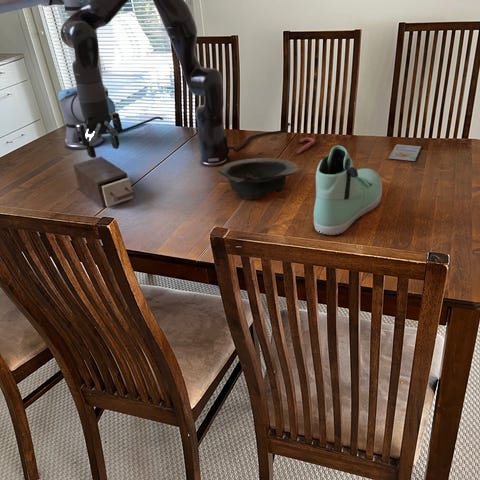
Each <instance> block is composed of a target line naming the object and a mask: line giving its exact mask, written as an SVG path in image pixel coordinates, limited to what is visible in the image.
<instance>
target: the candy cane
mask: <svg viewBox="0 0 480 480" xmlns="http://www.w3.org/2000/svg"><path fill="white" fill-rule="evenodd" d="M304 142H308V143H306V144H305V145H303V146H302V147H300V148H298V149H296V152H295V153H296V154H297V155H299V154H301V153H303V152H304V151H305V150H307V149H308V148H310V147H312V145H314V144H315V143H316V139H315V138H313V137H310V136H309V137H308V136H307V137H302V138H300V140H299V143H300V144H302V143H304Z"/></svg>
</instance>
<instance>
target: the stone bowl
mask: <svg viewBox="0 0 480 480" xmlns="http://www.w3.org/2000/svg"><path fill="white" fill-rule="evenodd" d="M298 170H299V169H298V167H297V166H296V164H295V163H293V162H291V161H289V160H287V159H281V158H272V157H271V158H269V157H255V158H243V159H239V160H235V161H232V162H231V161H230V162H228V163H224V164H222V166H221V168H220V169H219V170H217V173H219V174H220V175H221V176H223V177H224V178H226V179H227V180H228V182H229V186H230V188H231V190H232V191H234V192H235V193H236V196H237V198H239V199H241V200H243V199H245V200H251V201H252V200H255V199H257V200H262V199H264V198H266V197H267V196H268V193H269V194H273V193H281V192H282V191H284V190H285V189H284V188H285V185H286V183H287V182H286V181H287V177H289V176H290V175H292V174H294V173H296V172H297V171H298Z"/></svg>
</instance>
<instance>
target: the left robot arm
mask: <svg viewBox="0 0 480 480" xmlns="http://www.w3.org/2000/svg"><path fill="white" fill-rule="evenodd" d="M88 1H89V0H0V15H2V14H5V13H11V12H15V11H18V10H19V11H20V10H23V9H27V8H32V7H36V6H42V7H50V6H64V12H65V13H66V14H67V15H68V17H70V16H71V15H73V14H74V13H75V12H76V11H78V10H79V9H80V8H82V7H83V6H85V5H86V4H87V2H88ZM97 30H98V29H97ZM97 30H96V31H95V32H96V34H97V35H98V31H97ZM98 51H99V52H100V47H99V45H98ZM98 65H99V69H100V73H101V78H102V82H103V83H104V81H103V74H102V64H101V56H100V54H99V59H98ZM104 88H105V93H106V97H107V102H108V107H109V114H110V113H111V112H116V104H115V102H114V101H113V99H111V98H110V97H109V90H108V87H106V86H105V85H104ZM58 102H59V105H60V108H61V113H62V116H63V119H64V123H65V126H66V133H65V139H64V140H65V144H66V148H68V149H70V150H85V149H86V150H87V148H86V146H83V145H80V144H79V143H78V138H77V133H76V128H75V125H76V124H83V123H84V121H85V119H84V117H83V115H82V111H81V106H80V102H79V98H78V94H77V87H76V86H75V87H69V88H66V89H63V90H60V91H59V92H58ZM154 120H155V121H156V120H160V121H164V120H165V119H164V118H163V117H161V116H153V117H152V118H149V119H147V120H143V121H141V122H139V123H136V124H134V125H131V126H129V127H125V128H122V129H123V131H122V132H121V133H123V132H126V131H128V130H132V129H135V128H138V127H140V126H142V125H144V124H148V123H150V122H152V121H154ZM110 123H112V120H111V121H110ZM86 132H87V128H86V131H85V134H86ZM92 134H93V133H91V135H92ZM104 135H111V134H110V133H108V132H105V133H101V134H99V135H97V137H96V139H95V140H94V143H93V145H94V147H97V146H99V145H102V143H104Z"/></svg>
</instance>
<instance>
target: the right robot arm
mask: <svg viewBox="0 0 480 480" xmlns="http://www.w3.org/2000/svg"><path fill="white" fill-rule="evenodd" d="M129 1H130V0H89V1H88V2H87V4H86V5H85V6H83V7H82V8H80V9H79V10H78V11H76V12H75V13H74V14H73V15H71V16H68V18H66V20H65V21H64V23H63V24H62V26H61V28H60V39H61V41H62V42H63V43H64V45H66V46H67V47H69V48H70V49H73V51H74V60H73V62H72V64H71V65H72V66H71V67H72V72H73V76H74V82H75V87H77V94H78V98H79V102H80V106H81V111H82V115H83V117H84V119H85V121H84V123H83V124H76V125H75V128H76V133H77V138H78V143H79V144H80V145H83V146H86V152H87V155H88V157H90V158H92V159H95V158H97V154H96V149H95V146H94V145H93V143H94V140H95V139H96V137H97V135H99V134H101V133H105V132H108V133H110V134H109V135H110V141H111V145H112V148H113V149H116V150H118V149H119V148H120V140H119V135H120V133H123V132H124V131H123V129H124V128H123V125H122V122H121V117H120V113H118V112H117V111H115V112H111V113H110V114H109V107H108V102H107V97H106V93H105V88H104V86H105V85H104V81H103V82H102V80H103V77H102V78H101V73H100V69H99V65H98V59H99V55H100V50H99V51H98V46H99V39H98V33H97V34H96V32H95V31H96V30H98V29H100V28H103V27H106V26H107V25H108V24H110V23H111V21H112V20H113V19H114V18H115V17H116V16H117V15H118V13H119V12H120V11H121V10H122V9H123V7H125V5H126V4H127V3H128V2H129ZM152 2H153V4H154V7H155V9H156V10H157V12H158V15H159V17H160V19H161V22H162V25H163V27H164V30H165V32H166V34H167V36H168V38H169V40H170V42H171V45H172V46H173V49H174V52H175V54H176V56H177V59H178V61H179V64H180V67H181V71H182V73H183V76H184V80H185V82H186V83H185V84H186V85H187V88H188V90H189V91H190V92H191V94H193V95H194V96H199V97H204V104H201V105H199V106H197V107H196V110H195V116H196V124H197V132H198V133H197V134H198V141H199V150H200V160H201V164H202V165H204V166H207V167H217V166H221V165H225V164H226V163H227V162H228V161H230V158H229V157H230V156H229V154H230V152H231V151H230V150H233V151H234V152H238V151H240V150H241V149H242V148H243V147H245V146H246V145H247V144H248V142H249V141H250V140H251V139H254V138H256V137H263V136H266V135H271V134H281V133H284V132H286V131H287V130H288V129H289V126H292V125H291V122H287V124H286V126H285V128H284V129H281V130H274V131H269V132H268V131H267V132H262V133H258V134H254V135H251V136H248V138H247V139H246V140H245V142H244V143H243V144H242V145H240V146H239V147H236V148H235V147H234V146H229V145H228V137H227V135H226V134H225V126H224V116H223V115H224V113H223V108H224V82H223V76H222V73H221V72H220V70H218V69H216V68H213V67H203V66H201V64H200V61H199V59H198V56H197V53H196V46H197V40H198V39H197V38H198V29H197V28H198V27H197V24H196V22H195V19H194V16H193V14H192V11H191V10H190V9H191V8H190V7H189V6H188V4H187V3H186V1H185V0H152ZM110 121H111V122H110ZM111 123H112V125H111ZM86 128H87V132H86V134H85V131H86ZM122 131H123V132H122ZM91 133H93V134H92V135H91Z"/></svg>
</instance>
